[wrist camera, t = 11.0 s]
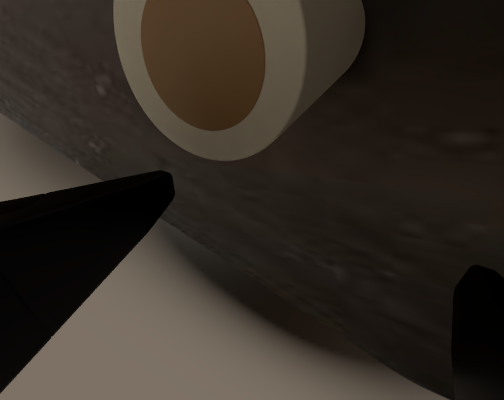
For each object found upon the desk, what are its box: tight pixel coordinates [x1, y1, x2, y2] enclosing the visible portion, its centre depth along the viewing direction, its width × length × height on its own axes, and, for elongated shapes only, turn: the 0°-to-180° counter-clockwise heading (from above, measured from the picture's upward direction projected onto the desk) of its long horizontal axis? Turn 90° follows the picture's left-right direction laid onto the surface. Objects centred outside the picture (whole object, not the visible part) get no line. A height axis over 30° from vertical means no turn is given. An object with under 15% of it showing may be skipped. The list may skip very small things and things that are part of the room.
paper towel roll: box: [114, 0, 365, 161], centre depth 12 cm, size 6×12×6 cm
